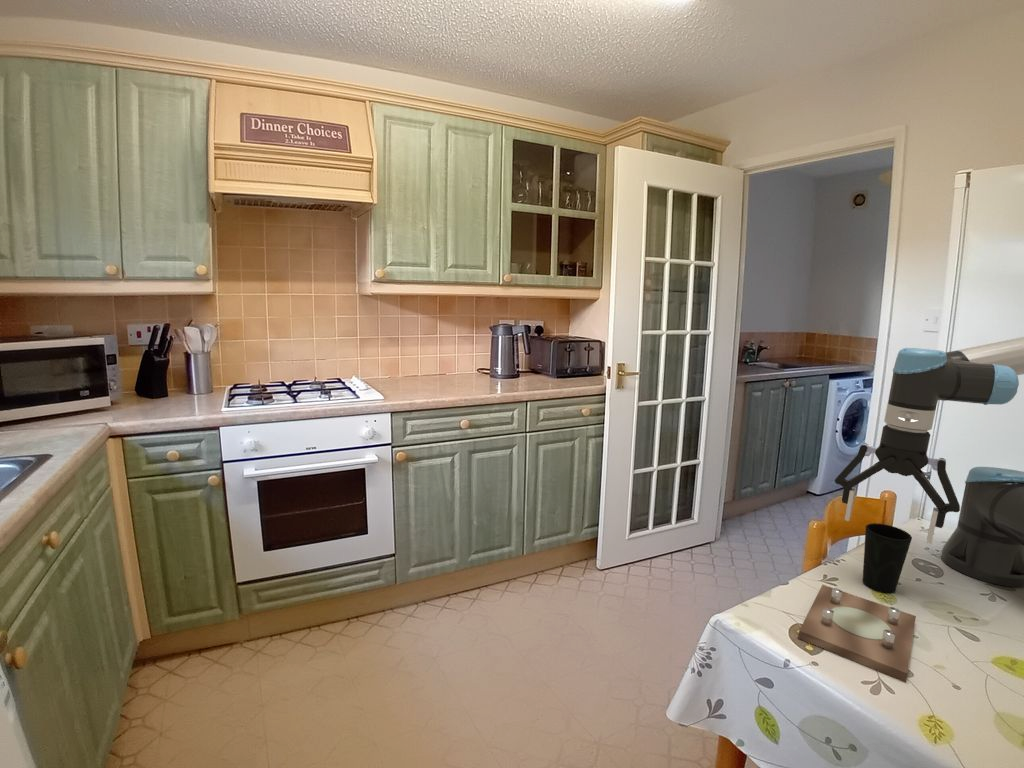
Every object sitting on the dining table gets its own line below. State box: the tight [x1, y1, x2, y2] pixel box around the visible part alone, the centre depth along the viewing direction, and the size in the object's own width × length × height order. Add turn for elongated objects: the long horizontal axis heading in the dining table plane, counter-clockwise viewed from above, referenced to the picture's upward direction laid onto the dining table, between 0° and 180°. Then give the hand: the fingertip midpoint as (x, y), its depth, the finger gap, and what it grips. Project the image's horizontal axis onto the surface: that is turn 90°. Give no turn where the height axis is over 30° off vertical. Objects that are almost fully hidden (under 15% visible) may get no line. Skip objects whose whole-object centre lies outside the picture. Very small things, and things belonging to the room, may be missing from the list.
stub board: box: [797, 584, 917, 683], centre depth 93 cm, size 15×20×4 cm
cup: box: [862, 522, 913, 595], centre depth 108 cm, size 8×8×12 cm
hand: (886, 529), depth 107 cm, fingers open, 13 cm apart
